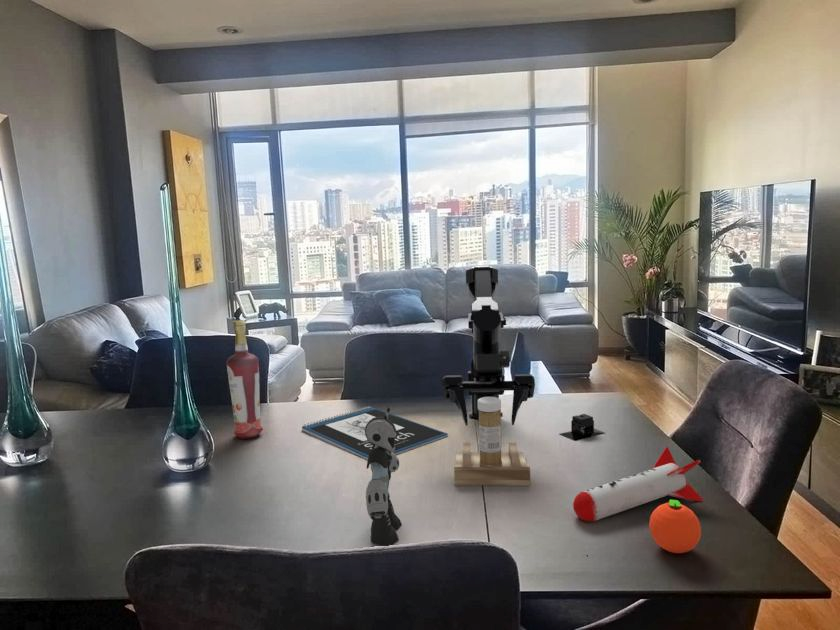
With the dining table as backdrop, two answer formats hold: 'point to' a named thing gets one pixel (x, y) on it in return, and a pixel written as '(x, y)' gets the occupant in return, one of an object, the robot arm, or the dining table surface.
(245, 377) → the liquor
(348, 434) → the sketchbook
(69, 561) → the dining table surface
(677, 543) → the clementine
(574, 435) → the black angular piece
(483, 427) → the sprinkles bottle
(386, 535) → the robot
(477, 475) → the cradle jig
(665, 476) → the model rocket
